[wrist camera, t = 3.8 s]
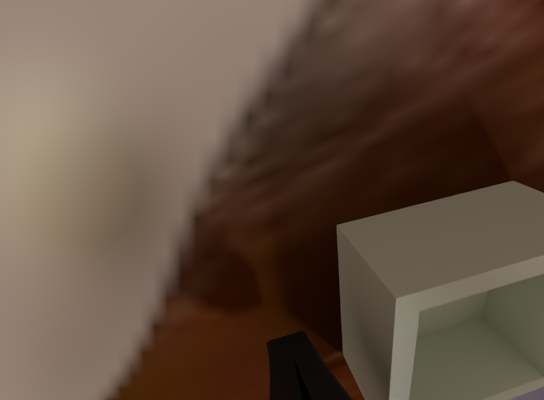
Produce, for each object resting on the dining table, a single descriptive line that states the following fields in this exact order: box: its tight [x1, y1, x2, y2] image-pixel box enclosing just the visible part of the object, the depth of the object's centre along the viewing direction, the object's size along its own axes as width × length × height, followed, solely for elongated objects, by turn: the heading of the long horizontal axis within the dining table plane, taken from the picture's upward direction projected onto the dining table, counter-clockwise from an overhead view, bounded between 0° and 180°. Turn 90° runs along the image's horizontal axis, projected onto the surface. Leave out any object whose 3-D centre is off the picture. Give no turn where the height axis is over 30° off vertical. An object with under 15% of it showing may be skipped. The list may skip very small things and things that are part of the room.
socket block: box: [337, 181, 544, 400], centre depth 12 cm, size 8×8×4 cm
